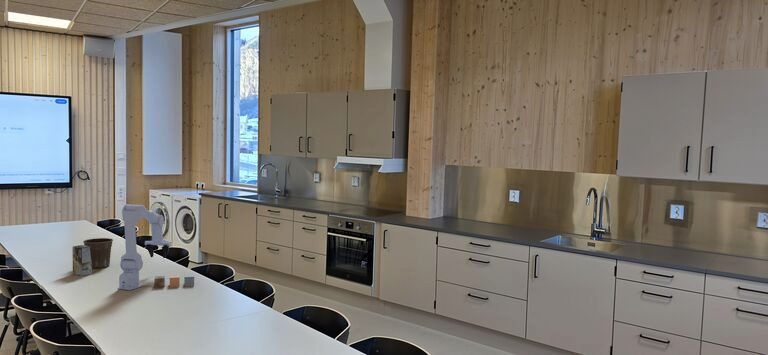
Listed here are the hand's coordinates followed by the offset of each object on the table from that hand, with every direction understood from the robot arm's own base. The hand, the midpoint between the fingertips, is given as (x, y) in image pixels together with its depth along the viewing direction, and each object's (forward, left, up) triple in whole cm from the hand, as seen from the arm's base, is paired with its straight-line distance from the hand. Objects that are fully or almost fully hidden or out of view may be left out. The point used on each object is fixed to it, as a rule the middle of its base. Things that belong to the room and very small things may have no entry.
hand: (158, 257), depth 320 cm
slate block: (-10, -30, -10) cm, 33 cm away
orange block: (-15, -24, -10) cm, 30 cm away
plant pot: (0, +45, -11) cm, 46 cm away
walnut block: (-20, -18, -10) cm, 29 cm away
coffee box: (-18, +38, -11) cm, 43 cm away
